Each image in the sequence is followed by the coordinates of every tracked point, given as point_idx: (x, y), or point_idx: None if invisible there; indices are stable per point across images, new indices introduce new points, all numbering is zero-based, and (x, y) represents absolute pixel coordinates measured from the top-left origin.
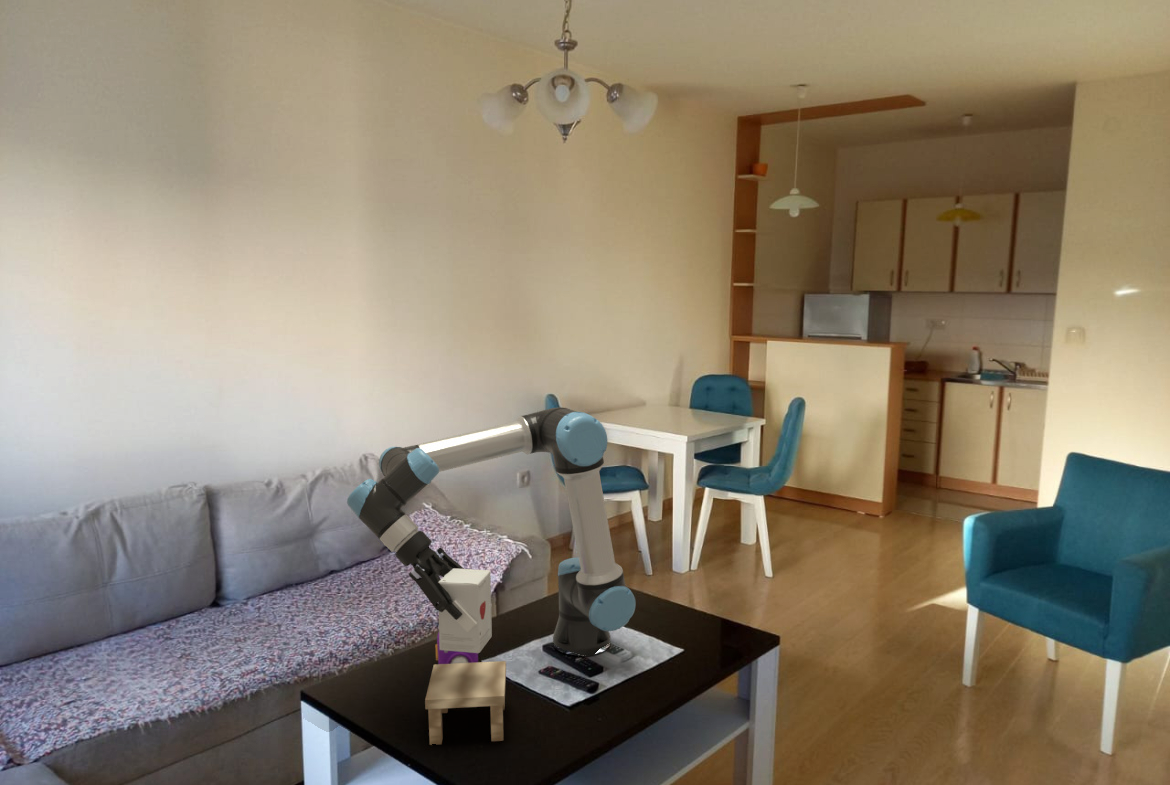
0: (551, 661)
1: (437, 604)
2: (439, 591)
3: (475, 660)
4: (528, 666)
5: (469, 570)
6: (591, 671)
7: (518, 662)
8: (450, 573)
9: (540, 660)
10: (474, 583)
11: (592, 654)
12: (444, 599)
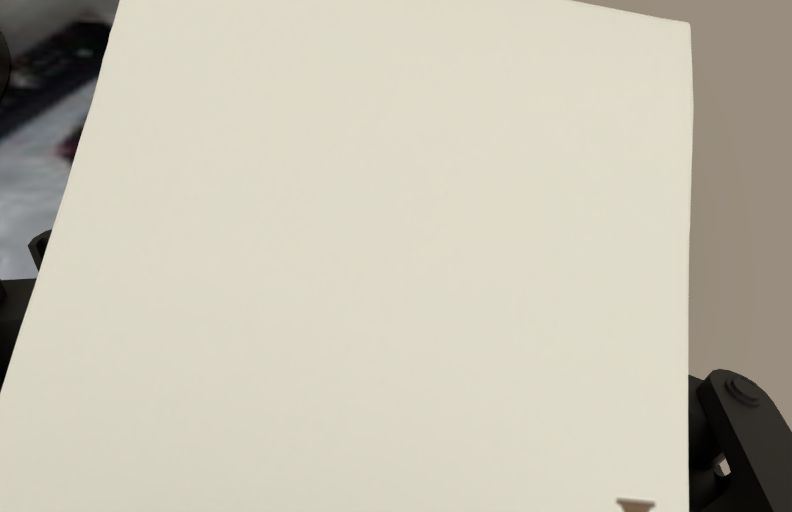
0: (28, 148)
1: (719, 462)
2: (773, 498)
3: None
4: (54, 206)
5: (129, 203)
6: (102, 48)
7: (24, 237)
8: (287, 509)
9: (18, 177)
10: (681, 54)
11: (3, 41)
12: (749, 401)
